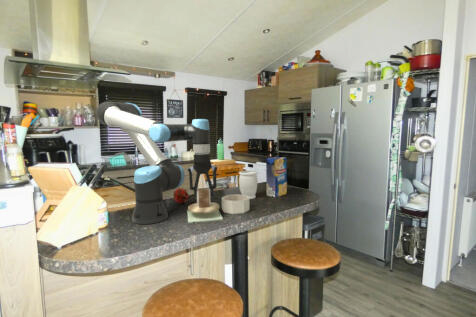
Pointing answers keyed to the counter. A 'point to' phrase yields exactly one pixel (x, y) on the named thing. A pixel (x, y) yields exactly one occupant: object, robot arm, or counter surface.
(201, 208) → the lid
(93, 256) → the counter surface
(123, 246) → the counter surface
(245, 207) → the bowl
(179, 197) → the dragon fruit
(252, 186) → the jar
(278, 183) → the blue food box
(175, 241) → the counter surface
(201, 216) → the mat
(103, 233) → the counter surface
